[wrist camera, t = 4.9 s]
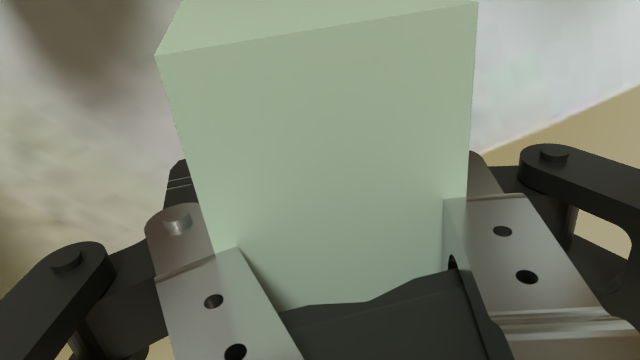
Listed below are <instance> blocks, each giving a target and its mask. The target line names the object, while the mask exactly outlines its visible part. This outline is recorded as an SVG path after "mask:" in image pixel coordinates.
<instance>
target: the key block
mask: <svg viewBox="0 0 640 360" xmlns="http://www.w3.org/2000/svg"><path fill="white" fill-rule="evenodd" d="M477 16H478V2H476V1H471V0H182V2H181V4H180V6H179V8H178V10H177V12H176V14H175V16H174V18H173V20H172V22H171V24H170V26H169V28H168V30H167V32H166V34H165V36H164V37H163V39H162V41H161V43H160V45H159V47H158V49H157V51H156V53H155V55H154V57H155V61H156V64H157V67H158V70H159V74H160V77H161V80H162V83H163V87H164V90H165V93H166V96H167V100H168V103H169V106H170V110H171V113H172V116H173V119H174V123H175V126H176V129H177V132H178V136H179V139H180V142H181V145H182V149H183V152H184V155H185V158H186V162H187V165H188V168H189V171H190V175H191V178H192V181H193V184H194V188H195V191H196V194H197V197H198V201H199V204H200V207H201V211H202V214H203V217H204V220H205V224H206V227H207V230H208V233H209V237H210V240H211V243H212V246H213V250H214V253H218V252H221V251H223V250H227V249H230V248H233V247H236V246H237V247H238V249H239V250H240V252H241V253H242V255H243V257H244V259H245V260H246V262H247V264H248V265H249V267H250V269H251V270H252V272H253V274H254V275H255V277H256V279H257V281H258V282H259V284H260V286H261V287H262V289H263V291H264V292H265V294H266V296H267V297H268V299H269V301H270V303H271V304H272V306H273V308H274V309H275V311H276V313H279V312H283V311H287V310H291V309H295V308H299V307H303V306H307V305H316V304H336V303H355V302H366V301H370V300H372V299H374V298H376V297H378V296H380V295H382V294H384V293H386V292H388V291H390V290H392V289H394V288H396V287H398V286H400V285H402V284H404V283H406V282H408V281H410V280H412V279H414V278H418V277H422V276H426V275H430V274H434V273H438V272H441V264H442V233H443V201H444V199H448V198H456V197H466V192H467V176H468V160H469V144H470V128H471V112H472V96H473V80H474V64H475V48H476V32H477Z"/></svg>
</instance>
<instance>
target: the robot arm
mask: <svg viewBox="0 0 640 360" xmlns="http://www.w3.org/2000/svg"><path fill="white" fill-rule="evenodd" d="M168 180H169V182H168V185H167V190H166V196H165V201H164V207H163V210H161V211H160V212H158V213H156V214H155V215H154V216H152V217H151V218H150V219H149V221H148V222H147V223H146V225H145V228H144V232H145V236H146V238H145V239H144V240H142V241H140V242H139V243H137V244H135V245H132V246H130V247H128V248H125V249H123V250H121V251H118V252H116V253H113V254H111V255H108V254H107V251H106V249H105V247H104V246H103V245H102V244H100V243H98V242H92V241H87V242H79V243H75V244H71V245H68V246H65V247H63V248H60V249H58V250H56V251H54V252H52V253H51V254H49V255H47V256H46V257H45V258H43V259H42V260H41V261H40V262H38V263H37V264H36V265H35V266H34V267H33V268H32V269H31V270H30V271H29V272H28V273H27V274H26V275H25V276H24V277H23V278H22V279H21V280H20V281H19V282H18V283H17V284H16V285H15V286H14V287H13V288H12V289H11V290H10V291H9V292H8V293H7V294H6V296H5V297H4V298H3V299H2V300H1V301H0V360H54V359H55V358H56V357H57V355H58V354H59V352H60V351H61V349H62V348H63V347H64V346H65V344H66V343H68V345H69V346H70V348H71V349H72V351H73V354H72V355H71V357H70V358H69V360H145V359H146V357H147V355H148V352H149V345H151V344H153V343H155V342H157V341H159V340H160V339H162V338H164V337H166V336H168V335H169V338H170V342H171V346H172V349H173V353H174V357H175V360H640V169H637V168H634V167H631V166H628V165H625V164H622V163H619V162H616V161H613V160H609V159H606V158H604V157H600V156H598V155H595V154H591V153H588V152H585V151H582V150H579V149H576V148H573V147H570V146H566V145H560V144H536V145H531V146H528V147H526V148H524V149H523V150H522V151H521V153H520V159H519V166H496V167H494V166H493V167H492V166H491V167H489V166H487V165H486V163H485V161H484V159H483V158H482V157H481V156H480V155H479V154H477V153H475V152H473V151H470V150H469V160H468V176H467V192H466V197H456V198H448V199H444V201H443V233H442V264H441V272H438V273H434V274H430V275H426V276H422V277H418V278H414V279H412V280H410V281H408V282H406V283H404V284H402V285H400V286H398V287H396V288H394V289H392V290H390V291H388V292H386V293H384V294H382V295H380V296H378V297H376V298H374V299H372V300H370V301H366V302H355V303H336V304H316V305H307V306H303V307H299V308H295V309H291V310H287V311H283V312H279V313H276V311H275V309H274V308H273V306H272V304H271V303H270V301H269V299H268V297H267V296H266V294H265V292H264V291H263V289H262V287H261V286H260V284H259V282H258V281H257V279H256V277H255V275H254V274H253V272H252V270H251V269H250V267H249V265H248V264H247V262H246V260H245V259H244V257H243V255H242V253H241V252H240V250H239V249H238V247H237V246H236V247H233V248H230V249H227V250H223V251H221V252H218V253H214V250H213V246H212V243H211V240H210V237H209V233H208V230H207V227H206V224H205V220H204V217H203V214H202V211H201V207H200V204H199V201H198V197H197V194H196V191H195V188H194V184H193V181H192V178H191V175H190V171H189V168H188V165H187V162H186V159H183V160H179V161H178V162H177V163H176V164H175V165H174V167H173V168H172V169H171V170H170V174H169V179H168ZM579 209H581V210H583V211H586V212H588V213H590V214H593V215H595V216H597V217H599V218H602V219H604V220H606V221H609V222H611V223H613V224H615V225H617V226H619V227H621V228H622V229H623V230H625V231H626V233H627V234H628V235H629V237H630V239H631V243H632V247H631V251H630V255H629V258H628V260H627V259H624V258H622V257H620V256H618V255H616V254H614V253H612V252H610V251H608V250H606V249H604V248H602V247H600V246H598V245H596V244H594V243H592V242H590V241H588V240H586V239H583V238H581V237H579V236H577V235H575V234H574V229H575V225H576V220H577V216H578V211H579Z"/></svg>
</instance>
